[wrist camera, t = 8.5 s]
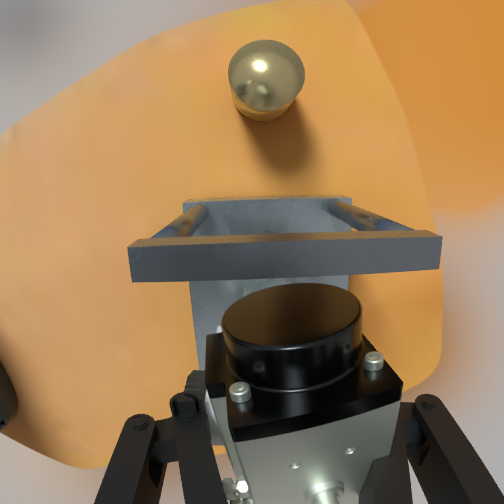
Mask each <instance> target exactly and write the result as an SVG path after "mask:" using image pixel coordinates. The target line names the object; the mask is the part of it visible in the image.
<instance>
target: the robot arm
mask: <svg viewBox="0 0 504 504" xmlns="http://www.w3.org/2000/svg"><path fill="white" fill-rule="evenodd" d="M220 332H222V328H221V326H218V327H217V333H220ZM169 404H170V408H171V412H172V417H170V418H167V419H163V420H157V421H154V419H153V418H152V417H151V416H149V415H146V414H137V415H133V416H131V417H130V418H128V419H127V421H126V422H125V424H124V427H123V429H122V432H121V434H120V437H119V439H118V442H117V444H116V447H115V449H114V452H113V454H112V457H111V460H110V462H109V465H108V467H107V470H106V473H105V475H104V478H103V480H102V483H101V486H100V489H99V492H98V494H97V497H96V499H95V502H94V504H159V500H160V496H161V491H162V486H163V481H164V476H165V472H166V467H167V463H169V462H174V461H179V468H180V475H181V481H182V487H183V493H184V499H185V504H228V502H227V499H226V495H225V492H224V488H223V485H222V481H221V478H220V474H219V470H218V467H217V463H216V460H215V456H214V452H213V448H212V445H224V442H223V439H222V436H221V433H220V430H219V427H218V424H217V421H216V418H215V415H214V412H213V409H212V405H211V402H210V399H209V396H208V392H207V389H206V386H205V370H193V371H192V372H191V374H190V375H189V376H188V378H187V381H186V385H185V390H184V392H182V393H178V394H176V395H174V396H173V397H172V398H171V399H170V403H169ZM16 413H17V400H16V396H15V393H14V390H13V387H12V385H11V382H10V380H9V378H8V376H7V374H6V373H5V371H4V369H3V367H2V366H1V364H0V430H1V429H3V428H5V427H6V426H7V425H8V424H9V423H10V421H11V420H12V419H13V418H14V416H15V415H16ZM211 443H212V444H211ZM407 457H408V458H407ZM408 459H409V462H410V464H411V466H412V468H413V470H414V472H415V475H416V477H417V479H418V481H419V483H420V486H421V488H422V490H423V492H424V495H425V497H426V499H427V501H428V504H504V496H503V494H502V492H501V491H500V489H499V487H498V486H497V484H496V483H495V481H494V479H493V478H492V476H491V475H490V473H489V471H488V470H487V468H486V467H485V465H484V463H483V462H482V460H481V459H480V457H479V456H478V454H477V453H476V451H475V450H474V448H473V447H472V445H471V443H470V442H469V440H468V439H467V438H466V436H465V435H464V433H463V432H462V430H461V429H460V427H459V426H458V424H457V423H456V421H455V420H454V418H453V417H452V416H451V414H450V413H449V411H448V410H447V408H446V407H445V406H444V404H443V403H442V401H441V400H440V399H439V398H438V397H436V396H434V395H431V394H422V395H420V396H418V397H417V398H416V399H415V402H414V403H412V402H411V403H410V402H400V407H399V412H398V418H397V423H396V428H395V432H394V437H393V442H392V446H391V450H390V454H389V455H387V456H384V457H381V458H377V459H374V460H373V461H372V463H371V466H370V469H369V471H368V474H367V476H366V479H365V481H364V484H363V486H362V489H361V491H360V493H359V503H358V504H413V501H412V491H411V482H410V474H409V465H408Z"/></svg>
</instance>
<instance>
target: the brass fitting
mask: <svg viewBox="0 0 504 504" xmlns="http://www.w3.org/2000/svg"><path fill="white" fill-rule="evenodd" d="M228 76H229V82H230V87H231V92H232V98H233V102H234V104H235V106H236V108H237V109H238V110H239V112H240V113H241V114H243V115H244V116H245V117H247V118H249V119H251V120H255V121H270V120H274V119H276V118H278V117H280V116H281V115H282V114H283V113H285V111H286V110H287V109H288V107H289V106H290V105H291V103H292V102H293V100H294V99H295V98H296V96H297V95H298V93H299V92H300V90H301V88H302V86H303V83H304V79H305V71H304V66H303V63H302V61H301V59H300V58H299V56H298V55H297V54H296V52H294V51H293V50H292V49H291V48H290V47H288V46H286V45H285V44H283V43H280V42H277V41H272V40H258V41H254V42H251V43H248V44H246V45H245V46H243V47H241V48H240V49H239V50H238V51H237V52H236V53H235V54H234V56H233V57H232V59H231V61H230V64H229V69H228Z"/></svg>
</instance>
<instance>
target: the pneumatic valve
mask: <svg viewBox="0 0 504 504" xmlns="http://www.w3.org/2000/svg"><path fill="white" fill-rule="evenodd" d="M221 328H222V332H220V333H214V334H208V335H207V336H206V355H205V386H206V389H207V392H208V396H209V399H210V402H211V405H212V409H213V412H214V415H215V418H216V421H217V424H218V427H219V430H220V433H221V436H222V439H223V442H224V445H225V448H226V451H227V454H228V456H229V459H230V462H231V465H232V467H233V470H234V473H235V476H236V484H234V483H233V480H232V478H225V479H223V480H222V485H223V488H224V492H225V495H226V499H228V500H230V504H358V503H359V493H360V491H361V489H362V486H363V484H364V481H365V479H366V476H367V474H368V471H369V469H370V466H371V463H372V461H373V460H374V459H377V458H381V457H384V456H387V455H389V454H390V450H391V446H392V442H393V437H394V432H395V428H396V423H397V418H398V412H399V407H400V401H401V395H402V389H403V381H402V380H401V379H400V378H399V377H398V375H397V374H396V373H395V372H394V370H393V369H392V368H391V367H390V366H389V364H388V363H387V362H386V361H385V360H384V356H383V354H382V353H380V352H378V351H377V350H376V349H375V348H374V347H373V345H372V344H371V343H370V342H369V341H368V340H367V338H366V337H365V336H364V335H363V334H362V306H361V303H360V301H359V300H358V298H357V297H356V296H355V295H354V294H352V293H351V292H349V291H347V290H345V289H343V288H340V287H337V286H333V285H329V284H322V283H292V284H284V285H278V286H273V287H269V288H265V289H262V290H259V291H256V292H253V293H251V294H248V295H246V296H244V297H242V298H241V299H239V300H237V301H236V302H234V303H233V304H232V305H231V306H230V307H229V308H228V309H227V310H226V311H225V312H224V314H223V317H222V319H221ZM236 492H238V494H239V495H238V496H236ZM239 497H241V498H243V501H241V500H240V498H239Z"/></svg>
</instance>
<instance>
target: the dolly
mask: <svg viewBox="0 0 504 504" xmlns="http://www.w3.org/2000/svg"><path fill="white" fill-rule="evenodd" d="M351 227H353V228H355V229H356V230H358V231H351ZM441 246H442V236H439V235H437V234H434V233H432V232H430V231H427V230H414V229H411V228H409V227H407V226H404V225H402V224H399V223H397V222H394V221H392V220H389V219H387V218H384V217H382V216H379V215H377V214H374V213H371V212H369V211H366V210H364V209H361V208H358V207H356V206H353V205H352V198H350V197H346V196H343V195H299V196H257V197H230V198H208V199H190V200H187V201H185V202H183V214H182V215H181V216H180V217H178V218H177V219H175V220H174V221H173V222H171V223H170V224H169V225H167V226H166V227H165V228H163V229H162V230H161V231H159V232H158V233H157V234H155V235H154V236H153V237H151V238H150V239H138V240H137V241H135V242H134V243H133V244H131V245H130V246H128V247H127V248H128V256H129V264H130V271H131V278H132V282H179V281H189V286H190V295H191V304H192V313H193V322H194V330H195V338H196V346H197V354H198V361H199V368H200V370H205V355H206V336H207V335H208V334H214V333H217V327H218V326H221V319H222V317H223V314H224V312H225V311H226V310H227V309H228V308H229V307H230V306H231V305H232V304H233V303H234V302H236V301H237V300H239V299H241V298H242V297H244V296H246V295H248V294H251V293H253V292H256V291H259V290H262V289H265V288H269V287H273V286H278V285H284V284H292V283H322V284H329V285H333V286H337V287H340V288H343V289H345V290H347V291H348V281H349V275H356V274H373V273H389V272H404V271H418V270H432V269H439V264H440V256H441Z"/></svg>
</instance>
